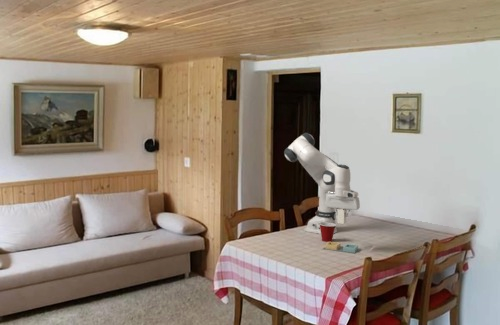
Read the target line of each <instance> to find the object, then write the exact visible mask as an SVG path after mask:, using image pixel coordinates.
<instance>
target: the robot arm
mask: <svg viewBox="0 0 500 325" xmlns="http://www.w3.org/2000/svg"><path fill="white" fill-rule="evenodd" d="M315 143H316V142H315V138H314V137H313V135H312V134H310V133H309V132H304V133H301V135H300V136H298V137H297V138H296V139H295V140H293V142H292V143H291V144H289V145H288V147H286V148H285V149H284V151H283V154H284V157H285V158H286V160H287V161H289V162H291V163H295V162H297V161H298V162H299V164H301V166H302V168H304V169H305V170H306V172H307V173H308V175H309V176H310V177H312V179H313V180H314V181H315V183H316V184H317V185H318V187H319V198H318V209H317V210H316V211H315V216H313V217H312V218H311V219H309V220H308V222H307V225H306V226H305V227H304V228H303V231H304V232H309V233H313V234H314V233H315V234H320V235H321V229H320V224H319V223H320V222H328V223H333V224H336V219H337V217H338V209H340V208H342V209H347V210H346V213H345V216H346V218H347V217H349V213H350V211H351V210H354V211H358V210H359V209H360V208H361V206H360V198H359V197H358V196H359V193H358V191H355V190H353V189H352V188H351V183H350V182H351V170H350V167H349V166H348V165H346V164H338V163H337V162H336V161H335V160H333V159H332V158H330V156H328V155H326V154H324V153H322V152H321V151H320V150H318V149H317V148H316V147H315ZM336 225H337V224H336ZM335 233H338V230H337V226H336V227H335V229H334V234H335Z"/></svg>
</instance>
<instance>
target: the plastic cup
mask: <svg viewBox="0 0 500 325" xmlns="http://www.w3.org/2000/svg"><path fill="white" fill-rule="evenodd" d="M319 224H320V229H321V234H320V235H321V236H320V237H321V241H322V242H324V243H328V242H333V238H334V234H335V233H334V229H335V227H336V228H337V224H333V223H328V222H320V223H319Z"/></svg>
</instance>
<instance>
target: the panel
mask: <svg viewBox="0 0 500 325" xmlns="http://www.w3.org/2000/svg"><path fill="white" fill-rule="evenodd" d="M322 250H324V251H332V252H338V253H339V252H340V253H346V254H353V255H356V254H357V253H358V252H359V251H360V250H361V248H359V245H356V244H351V243H346V244H345V245H341V242H335V241H331V242H325V244H324V247H323V248H322Z"/></svg>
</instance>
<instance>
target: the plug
mask: <svg viewBox="0 0 500 325" xmlns="http://www.w3.org/2000/svg"><path fill="white" fill-rule="evenodd" d="M337 211H338V216H336V219H337V224H342V225H343V224H346V223H347V217H346V216H345V213H347V209H342V208H338V209H337Z"/></svg>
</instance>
